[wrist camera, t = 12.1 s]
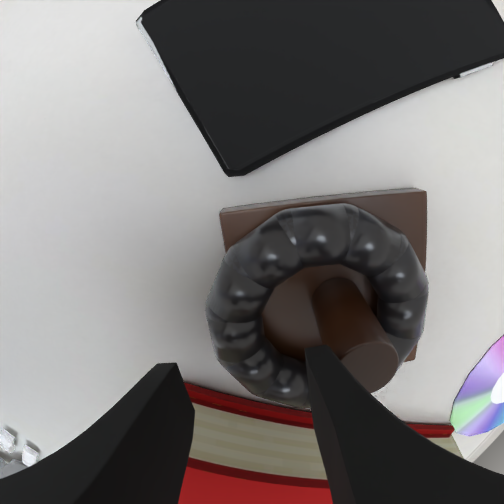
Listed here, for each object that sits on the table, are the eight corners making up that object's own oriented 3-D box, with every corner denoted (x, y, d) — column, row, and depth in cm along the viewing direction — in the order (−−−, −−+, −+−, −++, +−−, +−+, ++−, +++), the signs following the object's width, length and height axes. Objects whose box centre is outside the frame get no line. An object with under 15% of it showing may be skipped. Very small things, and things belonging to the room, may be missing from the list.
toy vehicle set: (117, 491, 20) (112, 506, 19) (108, 501, 21) (103, 514, 20) (3, 422, 18) (-6, 435, 17) (4, 438, 20) (-4, 450, 18)
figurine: (11, 461, 24) (71, 501, 21) (-10, 485, 19) (49, 533, 16) (-24, 418, 22) (31, 459, 19) (-48, 443, 17) (2, 494, 14)
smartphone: (130, 15, 9) (430, -80, 6) (141, 24, 10) (421, -70, 7) (232, 187, 11) (521, 55, 8) (235, 183, 12) (506, 59, 9)
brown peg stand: (250, 372, 15) (245, 464, 10) (221, 208, 12) (193, 253, 7) (408, 348, 14) (453, 424, 9) (416, 187, 12) (499, 217, 7)
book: (155, 485, 19) (141, 535, 14) (181, 381, 15) (157, 458, 10) (361, 511, 20) (370, 554, 15) (452, 425, 16) (479, 476, 11)
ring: (230, 392, 14) (226, 423, 12) (195, 215, 11) (181, 228, 10) (403, 369, 14) (418, 395, 12) (417, 192, 11) (443, 202, 9)
